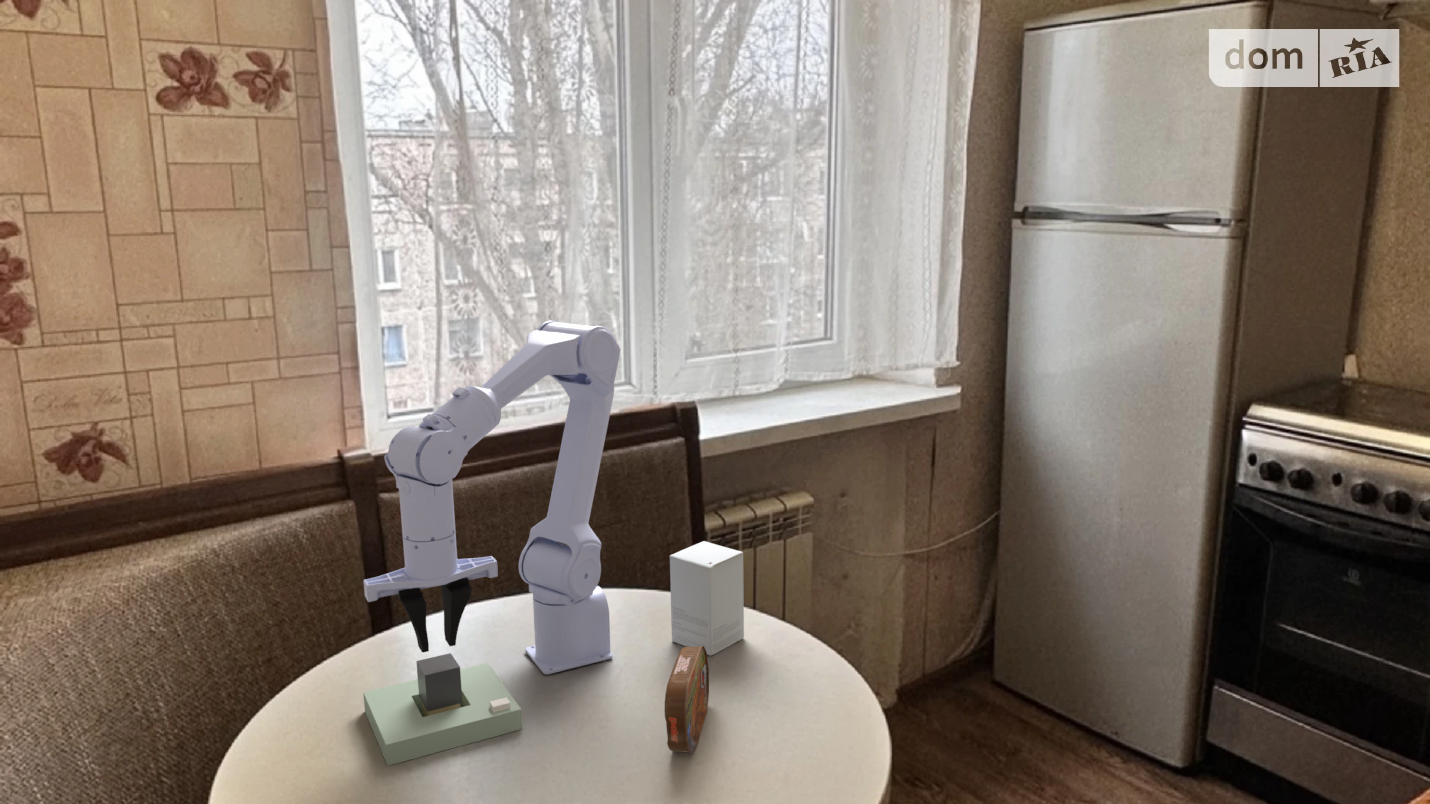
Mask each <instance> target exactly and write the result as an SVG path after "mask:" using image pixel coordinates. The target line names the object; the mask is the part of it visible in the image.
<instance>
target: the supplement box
mask: <svg viewBox="0 0 1430 804" xmlns="http://www.w3.org/2000/svg"><path fill="white" fill-rule="evenodd" d="M669 571H670V572H669V575H670V580H669V582H670V615H671V617H670V618H671V620H670V621H671V622H670V623H671V624H670V625H671V642H672V643H675V644H678V645H681V646H684V647H700V646H704V647H705V649H706V652H707V656H713V655H715V654H718V653H719V652H721V651H723V650H725V649H727V648H728V647H730V646H732V645H734V644H736V643H737V641H738V642H739V641H741V640H743V639H744V637H745V621H744V619H745V611H744V610H745V609H744V606H745V605H744V602H745V601H744V585H745V584H744V552H743V551H740V550H737V549H733V548H730V547H727V546H722V545H719V544H715V543H712V542H709V541H706V540H703V541H701V542H699V543H695V544H693V545H690V546H689V547H686V548H684V549H681V550H679V551H677V552H675V553H673V554H670V555H669Z"/></svg>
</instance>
